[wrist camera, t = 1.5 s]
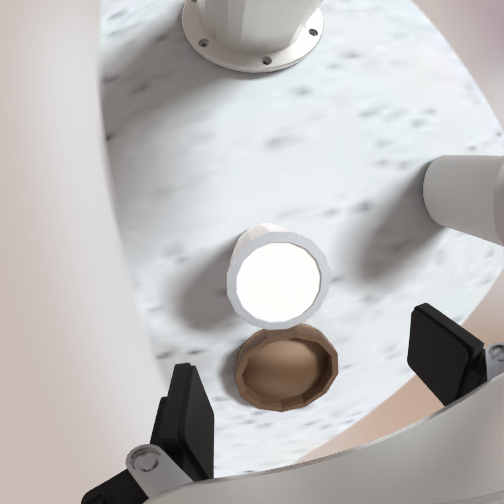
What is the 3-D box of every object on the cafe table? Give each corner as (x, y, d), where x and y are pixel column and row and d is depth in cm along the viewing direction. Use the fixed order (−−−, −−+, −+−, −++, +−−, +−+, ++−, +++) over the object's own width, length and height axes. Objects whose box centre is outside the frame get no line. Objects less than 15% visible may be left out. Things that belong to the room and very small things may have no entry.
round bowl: (225, 334, 27) (225, 346, 25) (328, 311, 27) (335, 321, 25) (246, 405, 29) (247, 418, 27) (332, 385, 30) (338, 397, 28)
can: (420, 147, 23) (512, 144, 12) (466, 164, 24) (548, 171, 13) (413, 220, 25) (502, 250, 14) (459, 228, 26) (538, 255, 14)
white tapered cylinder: (308, 282, 26) (334, 317, 19) (235, 299, 26) (238, 340, 19) (297, 209, 24) (324, 221, 17) (218, 225, 24) (214, 244, 17)
